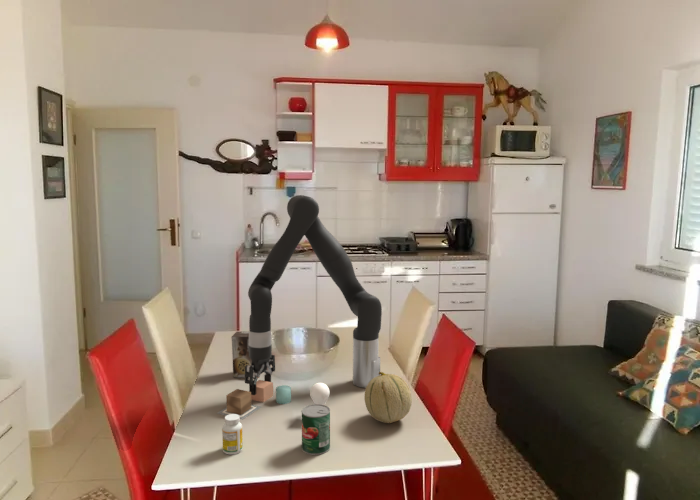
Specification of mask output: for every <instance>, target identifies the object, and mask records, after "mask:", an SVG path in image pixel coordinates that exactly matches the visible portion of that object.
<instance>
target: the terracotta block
mask: <svg viewBox="0 0 700 500" xmlns="http://www.w3.org/2000/svg"><path fill="white" fill-rule="evenodd" d="M273 397H274V382H272V381H271V382H268V381H264V380H261V379H259V380H258V379H257V382H256V394H255V395H251V401H255V402H256V401H257V402H260V403H266V401H268V400H270V399H271V398H273Z"/></svg>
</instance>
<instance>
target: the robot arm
mask: <svg viewBox="0 0 700 500" xmlns="http://www.w3.org/2000/svg"><path fill="white" fill-rule="evenodd" d="M286 205H287V206H286V210H287V214H288V216H289V218H290V219H289V222H288V224H287V226H286V228H285V230H284V232H283V234H282V235H281V236H280V238H279V239H278V240H277V241H276V243H275V244H274V245H273V247H272V248H271V250H270V251H269V253H268V254H267V257H266V258H265V259H264V263H263V264H262V267H261V269H260V271H259V272H258V274H257V275H256V276H255V277H254V279H253V281H252V282H251V284H250V286H249V288H248V292H247V297H248V299H249V300H250V315H249V318H248V322H249V323H248V325H249V326H248V327H249V330H248V332H249V357H250V359H251V360H252V363H251V365H249V366H248V365H246V366H245V377H244V384H247V385H249V386H248V387H249V390H248V391H249V392H251V395H255V394H256V382H257V381H258V379H260V376H261V375H262V374H263V373H264V376H263V377H264V380H263V381H268V382H272V375H273V372H276V356H275V354H273V352H272V350H273V349H272V346H273V344H272V342H273V341H272V338H273V337H272V323H271V321H272V320H271V315H272V306H273V294H272V290H273V288H274V286H275V284H276V283H277V282H278V281H279V280H280V279H281V278H282V276H283V274H284V272H285V270H286V268H287V266H288V264H289V262H290V260H291V259H292V256H293V255H294V252H295V251H296V250H297V247H298V246H299V244H300V242H301V241H302V239H303V238H304V236H305V238H306V239H307V241H308V243H309V245H310V247H311V249H312V250H313V252H314V254H315V255H316V257H317V259H318V261H319V262H320V264H321V265H322V267H323V268H324V270H325V271H326V273H327V274H328V275H329V277H330V278H331V279H332V281H333V282H334V284H335V285H336V286H337V287H338V288H339V290H340V292H341V293H342V295H343V298H344V299H345V301H346V304H347V305H348V307H349V309H350V311H351V312H352V314H354V316H356V317H357V324H356V325H357V327H355V328H354V329H353V331H352V384H353V385H354V386H356V387H358V388H365V389H366V387H367V385H368V383H369V382H370V381H371V380H372V379H373V378H375V377H377V376H379V375H381V374H379V372H381V356H379V341H380V339H379V335H380V332H381V329H382V328H381V327H382V315H383V312H382V303H381V300H380V299H379V298H378V297H377V296H375V295H373V294H371V293H369V292H367V290H366V289H365V288H364V286H362V284H361V283H360V281H359V279H358V278H357V276H356V274H355V269H354V266H353V263H352V261H351V259H350V256H349V255H348V253H347V251H346V250H345V248H344V247H343V246H342V244H341V243H340V241H338V240H337V238H335V236H334V235H333V234H332V233H331V232H330V231H329V230H328V229H327V228H326V226H325V225H324V224H323V223H322V221H321V219H320V218H319V213H320V206H319V204H318V202H317V201H316V200H315V198H313V197H310V196H307V195H302V194H301V195H299V194H298V195H297V194H296V195H294V196H293V197H290V199H289V201H288V202H287V204H286ZM253 372H254V373H256V374H253ZM248 377H249V378H248ZM253 377H255V378H253Z"/></svg>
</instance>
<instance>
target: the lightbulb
mask: <svg viewBox="0 0 700 500" xmlns="http://www.w3.org/2000/svg"><path fill="white" fill-rule="evenodd" d="M309 396H310V398H311V400H312V401H313V404H321V405H325V406H326V403H327V401H328V400H329V398H330V388H329V386H328V385H327V384H326V383H323V382H316V383H315V384H313V385H312V386H311V387H310V391H309Z"/></svg>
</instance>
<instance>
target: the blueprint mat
mask: <svg viewBox="0 0 700 500" xmlns="http://www.w3.org/2000/svg"><path fill="white" fill-rule="evenodd" d="M260 409H261V406H259V405H255V404H251V409H249V410H248V411H246V412H245V413H243V414H242V415H239V416H240V420H244V419H246V418H247V417H249V416H250V415H252V414H253V413H254V412H256V411H258V410H260ZM216 414H218V415H222V416H224V417H225V416H227V415H229V414H234V413H230V412H227V406H226V407H225V408H223V409H221V410H219V411H218V412H216ZM237 415H238V414H237Z"/></svg>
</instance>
